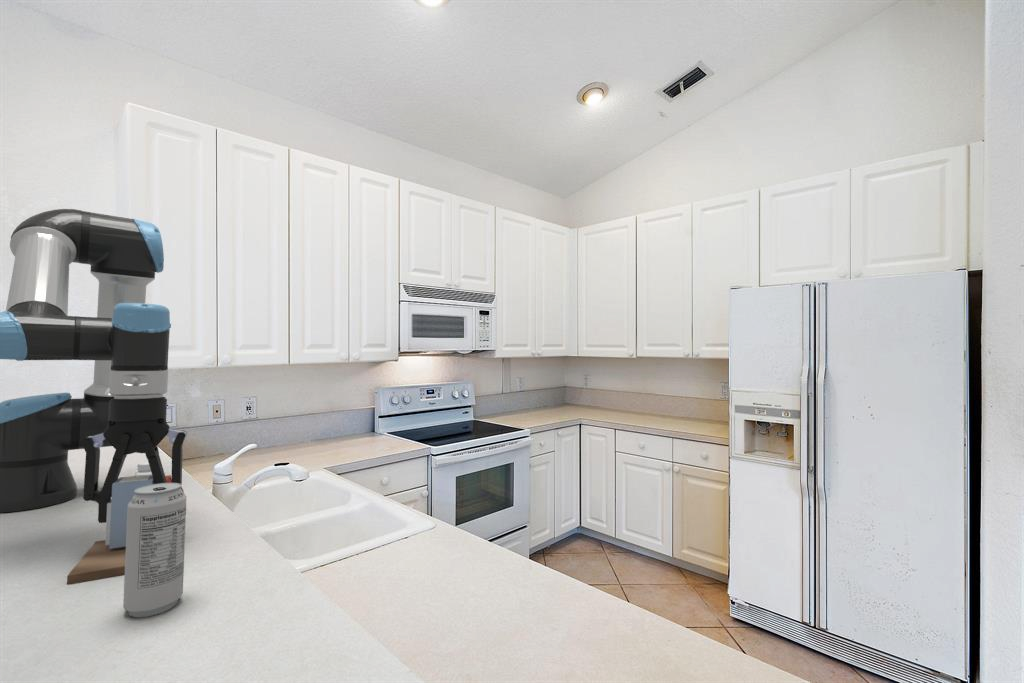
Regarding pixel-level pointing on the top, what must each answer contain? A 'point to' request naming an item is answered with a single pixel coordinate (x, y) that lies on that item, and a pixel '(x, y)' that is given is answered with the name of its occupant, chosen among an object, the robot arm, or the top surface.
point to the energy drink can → (154, 549)
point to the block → (123, 506)
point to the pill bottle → (143, 469)
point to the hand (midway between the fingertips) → (133, 538)
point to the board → (99, 563)
